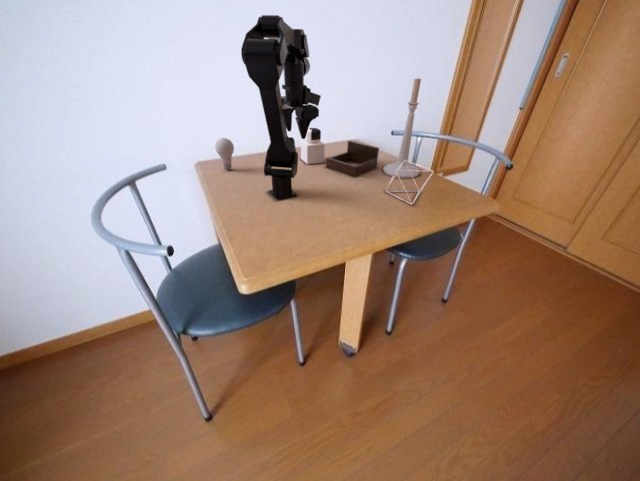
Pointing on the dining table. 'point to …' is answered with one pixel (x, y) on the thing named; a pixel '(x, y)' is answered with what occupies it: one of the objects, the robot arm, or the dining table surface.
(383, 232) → the dining table surface
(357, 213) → the dining table surface
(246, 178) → the dining table surface
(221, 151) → the lightbulb
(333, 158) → the wooden holder
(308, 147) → the medicine bottle
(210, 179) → the dining table surface
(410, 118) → the candlestick
